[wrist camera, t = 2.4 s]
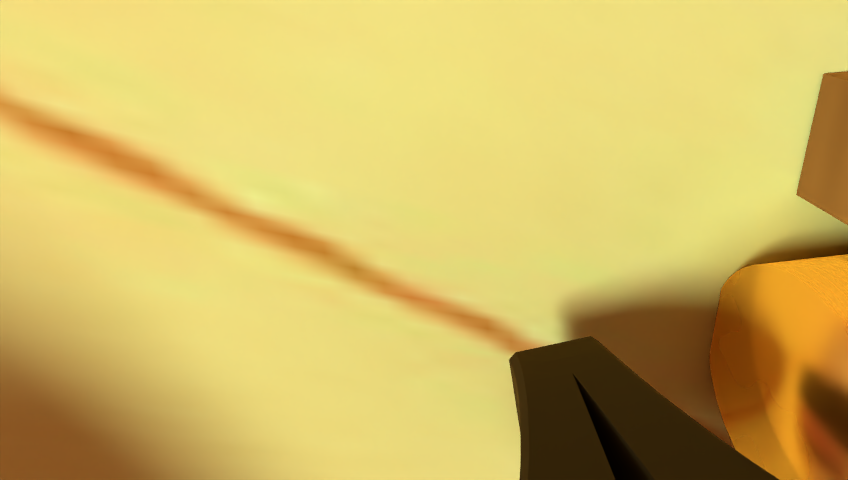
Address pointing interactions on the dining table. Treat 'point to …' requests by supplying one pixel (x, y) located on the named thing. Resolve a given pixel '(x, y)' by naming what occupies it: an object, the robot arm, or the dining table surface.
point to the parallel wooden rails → (828, 150)
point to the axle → (785, 366)
